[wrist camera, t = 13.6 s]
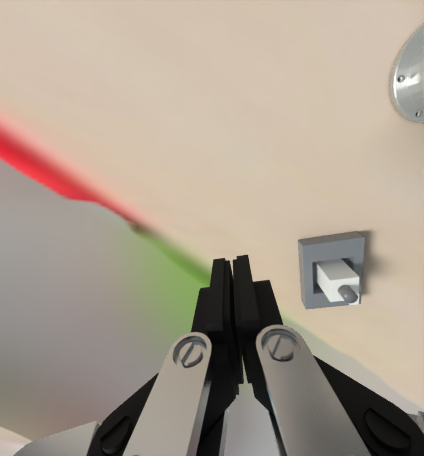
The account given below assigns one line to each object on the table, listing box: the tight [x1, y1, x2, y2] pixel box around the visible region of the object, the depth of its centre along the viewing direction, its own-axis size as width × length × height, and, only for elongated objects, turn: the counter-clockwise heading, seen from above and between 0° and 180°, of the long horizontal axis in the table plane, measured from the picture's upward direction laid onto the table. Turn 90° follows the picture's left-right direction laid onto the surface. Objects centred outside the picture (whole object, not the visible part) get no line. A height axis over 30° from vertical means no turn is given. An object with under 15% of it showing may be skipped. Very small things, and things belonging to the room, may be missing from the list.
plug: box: [315, 259, 359, 303], centre depth 35 cm, size 4×4×8 cm
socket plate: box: [298, 232, 365, 309], centre depth 38 cm, size 10×14×3 cm
